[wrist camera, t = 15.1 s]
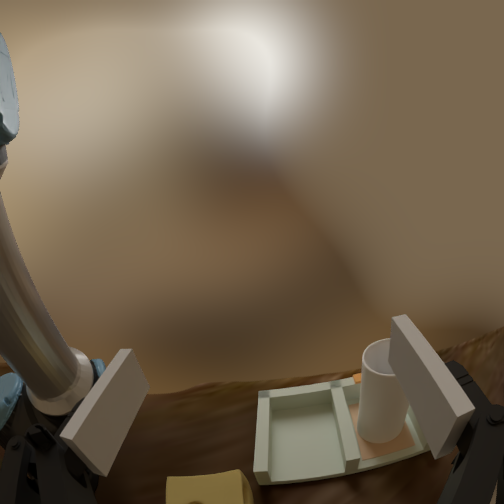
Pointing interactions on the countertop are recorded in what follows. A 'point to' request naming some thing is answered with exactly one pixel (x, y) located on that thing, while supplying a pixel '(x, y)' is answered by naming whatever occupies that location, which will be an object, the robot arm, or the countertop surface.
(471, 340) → the countertop surface
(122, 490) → the countertop surface
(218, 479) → the cheese
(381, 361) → the cup
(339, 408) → the tray
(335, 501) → the countertop surface
